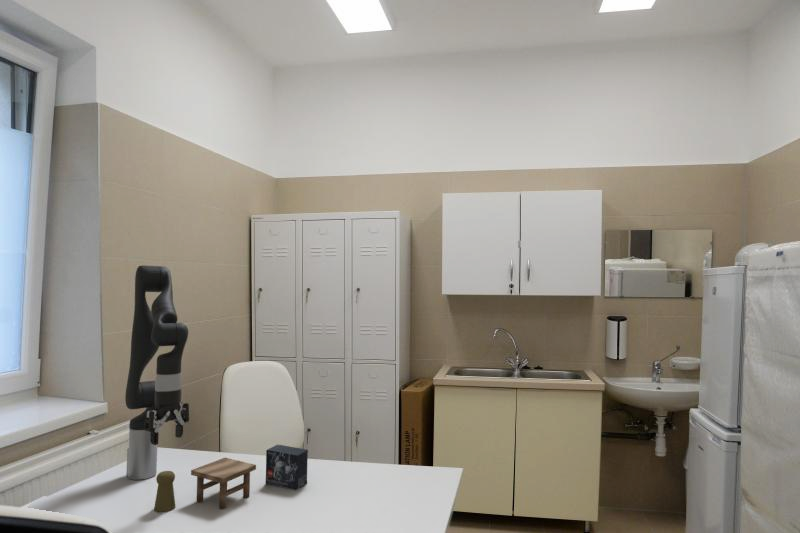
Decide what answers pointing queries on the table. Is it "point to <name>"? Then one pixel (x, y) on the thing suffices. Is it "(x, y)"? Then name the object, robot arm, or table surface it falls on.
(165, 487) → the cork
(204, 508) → the table surface
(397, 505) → the table surface
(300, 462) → the small box
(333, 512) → the table surface
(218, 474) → the stool
